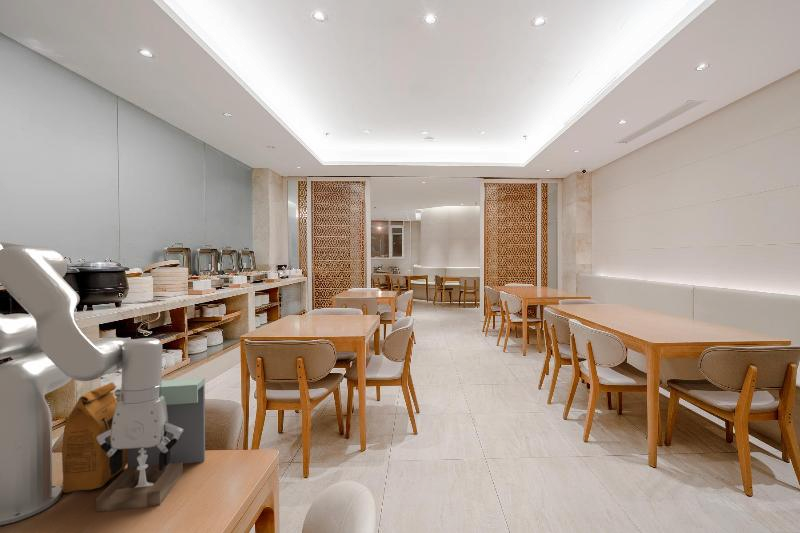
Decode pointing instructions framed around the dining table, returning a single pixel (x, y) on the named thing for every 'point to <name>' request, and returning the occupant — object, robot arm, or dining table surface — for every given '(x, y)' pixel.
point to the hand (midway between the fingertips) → (140, 469)
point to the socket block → (139, 488)
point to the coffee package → (88, 441)
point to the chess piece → (142, 469)
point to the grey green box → (180, 423)
